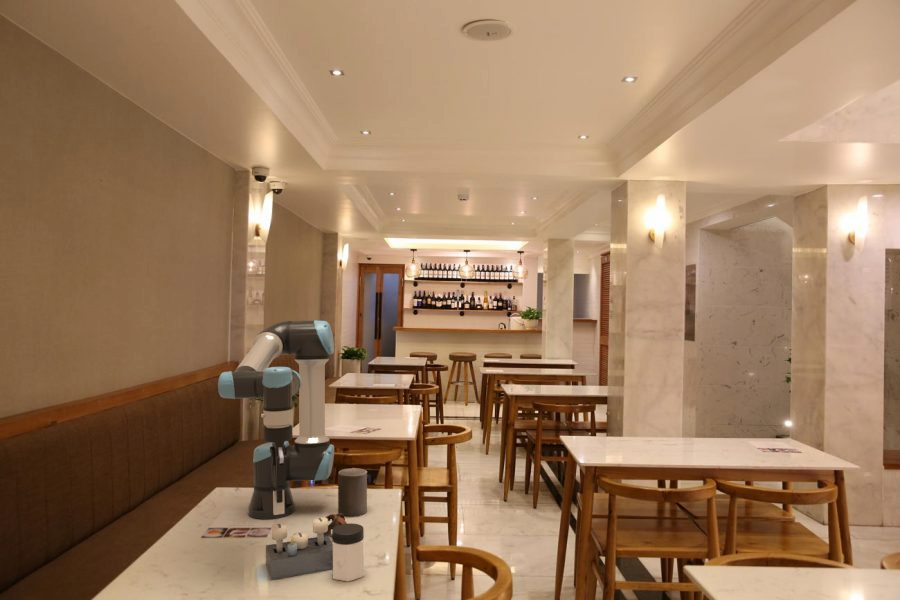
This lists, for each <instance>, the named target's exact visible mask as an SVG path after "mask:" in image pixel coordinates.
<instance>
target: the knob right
mask: <svg viewBox="0 0 900 600" xmlns="http://www.w3.org/2000/svg"><path fill="white" fill-rule="evenodd" d="M325 517H326V516H325ZM325 517H323V516H322V517H321V516H320V517H316V518H314V519H312V532H313V533H314V534H317V533H318V546H321V545H324V533H325V532H327V531H328V525H329V521H328V519H327V518H325Z"/></svg>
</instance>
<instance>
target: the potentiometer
mask: <svg viewBox="0 0 900 600" xmlns="http://www.w3.org/2000/svg"><path fill="white" fill-rule="evenodd" d="M290 541H291V543H290V544H288V555H289V556H294V555H297V543H294V537H293V536H290Z"/></svg>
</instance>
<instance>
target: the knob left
mask: <svg viewBox="0 0 900 600" xmlns="http://www.w3.org/2000/svg"><path fill="white" fill-rule="evenodd" d="M287 537H288V525H287V523H282V522H280V523H275V524H273V525H271V539H272V540H274V541H276V543H275V544H276V546H277V553H279V552H283V540H285V539H287Z"/></svg>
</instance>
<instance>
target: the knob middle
mask: <svg viewBox="0 0 900 600" xmlns="http://www.w3.org/2000/svg"><path fill="white" fill-rule="evenodd" d="M308 535H309V533H307V532H305V531H303V532H302V531H300V532H296V533H294V534H292V537H294V543H297V549H303V548H306V547H307V546H308V538H309V536H308Z"/></svg>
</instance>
